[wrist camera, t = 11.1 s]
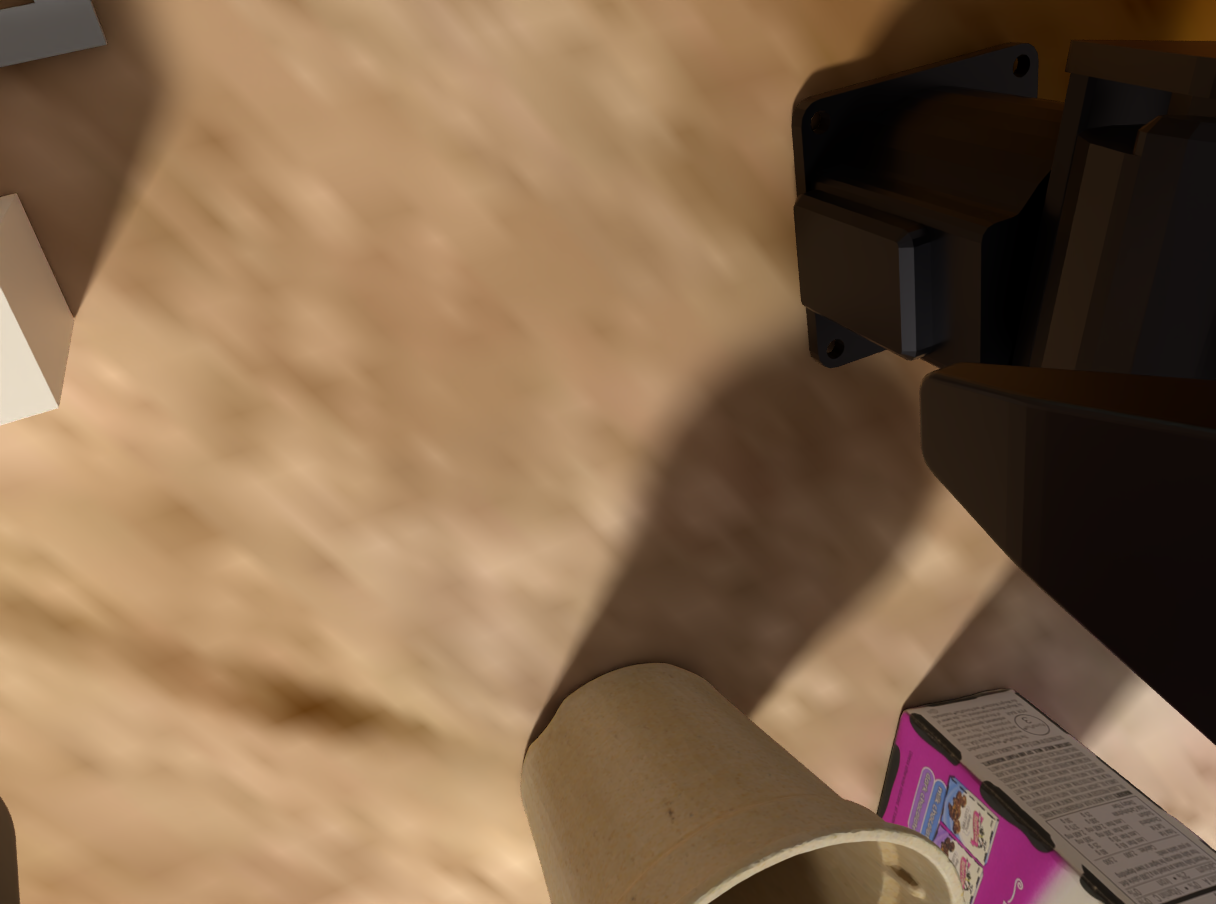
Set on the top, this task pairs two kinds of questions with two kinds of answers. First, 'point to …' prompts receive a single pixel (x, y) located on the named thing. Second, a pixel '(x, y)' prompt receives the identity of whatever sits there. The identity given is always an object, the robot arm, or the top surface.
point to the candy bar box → (1035, 810)
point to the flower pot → (703, 808)
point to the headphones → (6, 243)
